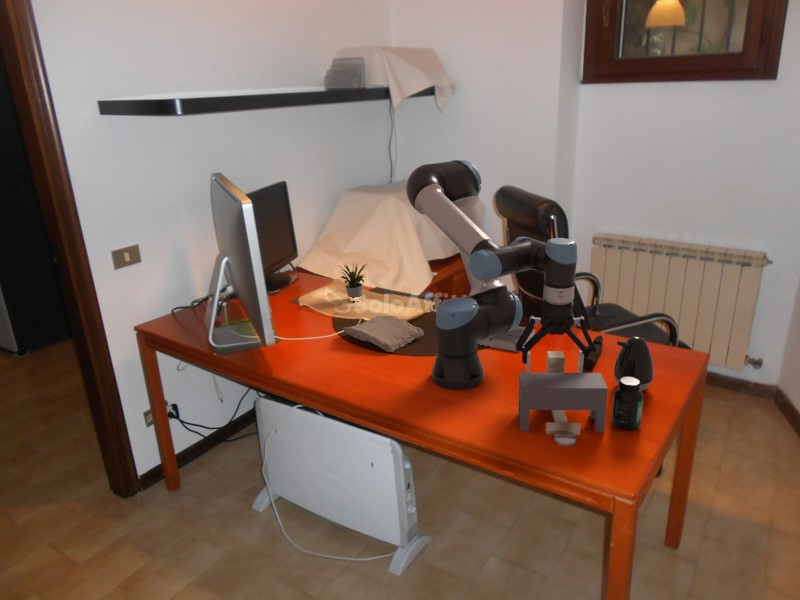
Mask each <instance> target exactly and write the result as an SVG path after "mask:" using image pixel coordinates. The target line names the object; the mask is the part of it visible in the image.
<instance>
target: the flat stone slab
mask: <svg viewBox="0 0 800 600" xmlns="http://www.w3.org/2000/svg"><path fill="white" fill-rule="evenodd" d="M342 331H343V332H345V333H346V334H347V335H349V336H350V337H353V338H355V339H357V340H360V341H363V342H369V343H370V344H371V343H372V344H374V345H375V346H377V347H378V348H380V349H382V350H384V351H385V352H388V353H390V352H393V351H394V350H395V349H398V348H399V347H403V346H405V344H408V343H410V344H411V343H412V342H413V341H414V340H416V339H420V338H421V337H424V336H425V333H424V330H423V329H422V328H421V327H419V326H418V327H417V326H414V325H413V324H411V323H410V322H408V321H406V320H405V319H402V318H398V317H396V316H394V315H377V316H376V317H372V318H370V319H368V320H366V321H365V322H362V323H359V324H358V325H353V326H343V328H342ZM408 345H409V344H408ZM405 347H406V346H405ZM403 348H404V347H403Z"/></svg>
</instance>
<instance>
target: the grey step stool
mask: <svg viewBox="0 0 800 600" xmlns="http://www.w3.org/2000/svg"><path fill="white" fill-rule="evenodd" d="M608 391H609V389H608V386H607V383H606V381H605V379H604V377H603V375H602V373H601V372H583V373H578V372H564V373H546V372H530V373H526V372H520V371H519V372H518V401H517V402H518V405H517V406H518V407H517V408H518V409H517V412H518V413H517V414H518V419H519V429H520V431H521V432H529V431H530V411H536V410H538V411H551V410H564V411H589V416H590V420H594V426H593V428H594V431H595V433H605V427H606V415H607V402H608Z"/></svg>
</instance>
